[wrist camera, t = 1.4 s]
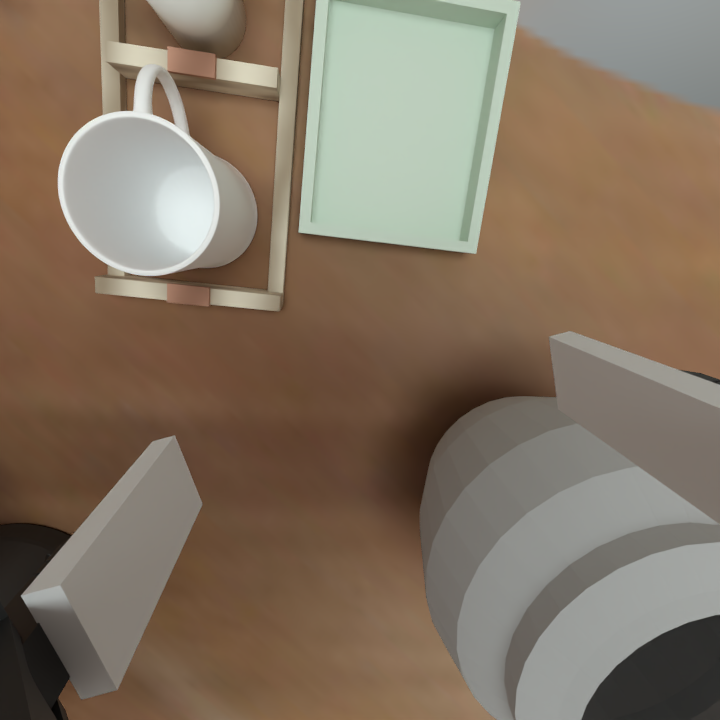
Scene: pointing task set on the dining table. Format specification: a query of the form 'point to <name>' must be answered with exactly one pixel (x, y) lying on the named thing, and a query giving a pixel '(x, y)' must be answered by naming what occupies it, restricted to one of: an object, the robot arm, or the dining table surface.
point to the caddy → (222, 78)
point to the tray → (404, 119)
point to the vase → (567, 573)
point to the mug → (153, 190)
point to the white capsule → (204, 23)
